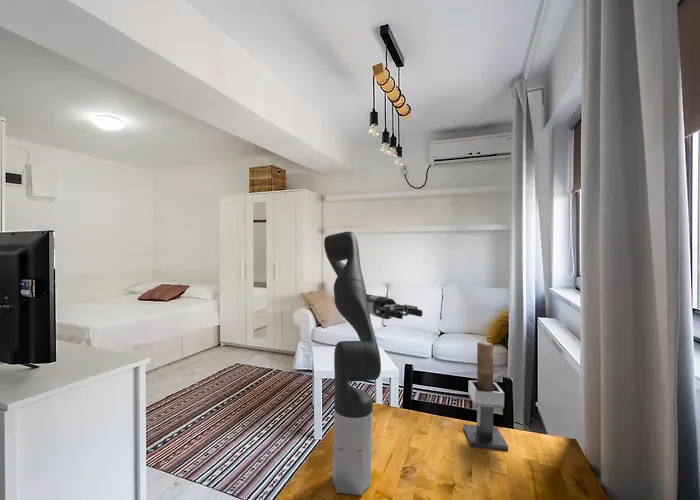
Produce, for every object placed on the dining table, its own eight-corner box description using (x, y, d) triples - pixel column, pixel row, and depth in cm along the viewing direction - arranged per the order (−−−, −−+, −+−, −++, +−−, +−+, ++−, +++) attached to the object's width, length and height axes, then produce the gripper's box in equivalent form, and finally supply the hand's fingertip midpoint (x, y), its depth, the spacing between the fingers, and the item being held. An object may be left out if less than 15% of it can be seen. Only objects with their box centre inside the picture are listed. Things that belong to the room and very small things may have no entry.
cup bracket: (508, 450, 93) (509, 394, 93) (471, 446, 94) (472, 392, 94) (496, 431, 102) (497, 381, 103) (463, 428, 104) (464, 378, 104)
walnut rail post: (495, 401, 96) (495, 346, 96) (479, 400, 96) (479, 345, 97) (490, 395, 100) (490, 342, 100) (475, 394, 101) (475, 341, 101)
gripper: (364, 297, 115) (395, 304, 102) (395, 295, 123) (428, 301, 109) (364, 318, 115) (394, 328, 102) (395, 315, 123) (427, 324, 109)
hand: (412, 314), depth 106 cm, fingers open, 8 cm apart
